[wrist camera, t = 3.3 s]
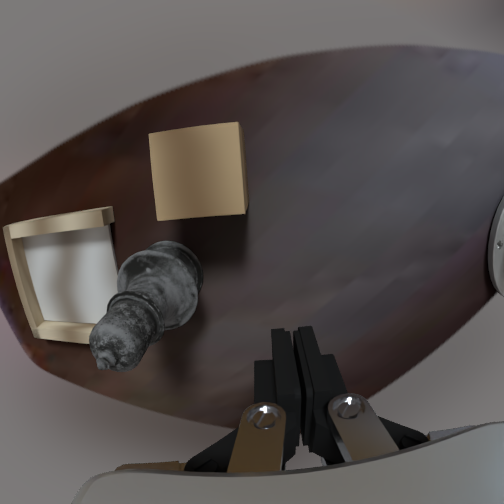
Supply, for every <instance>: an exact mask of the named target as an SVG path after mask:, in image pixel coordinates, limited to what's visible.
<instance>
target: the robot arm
mask: <svg viewBox="0 0 504 504" xmlns="http://www.w3.org/2000/svg"><path fill="white" fill-rule="evenodd" d="M488 268H489V273H490V278H491V281H492V283H493V286H494V288H495V289H496V290H497V292H498V293H499V294H501V295H502V296H503V297H504V196H503V198H502V200H501V202H500V204H499V206H498V208H497V211H496V214H495V217H494V220H493V224H492V228H491V232H490V238H489V245H488ZM271 337H272V357H273V360H259V361H254V404H253V405H251V406H249V407H248V408H247V409H246V410H245V411H244V413H243V415H242V418H241V422H240V426H239V427H238V428H237V429H235V430H234V431H232V432H231V433H229V434H228V435H227V436H225V437H224V438H222V439H221V440H219V441H218V442H216V443H215V444H213V445H211V446H210V447H208V448H207V449H205V450H204V451H202V452H200V453H199V454H197V455H196V456H194V457H192V458H191V459H190V460H189V461H188V462H186V463H179V461H169V462H157V463H135V464H124V465H121V466H119V467H117V468H116V469H115V471H110V472H106V473H102V474H98V475H96V476H94V477H92V478H90V479H89V480H88V481H86V482H85V483H84V484H83V485H82V487H81V488H80V489H79V491H78V492H77V494H76V496H75V497H74V499H73V501H72V503H71V504H504V421H503V422H492V423H486V424H481V425H477V426H466V427H460V428H453V429H447V430H440V431H432V432H429V433H428V435H424V434H423V433H421V432H419V431H416V430H413V429H411V428H408V427H405V426H402V425H400V424H397V423H394V422H392V421H389V420H386V419H384V418H381V417H379V416H377V415H376V413H375V412H374V410H373V409H372V407H371V406H370V404H369V403H368V401H367V400H366V399H365V398H364V397H362V396H360V395H357V394H351V393H347V390H346V387H345V384H344V382H343V379H342V376H341V373H340V371H339V368H338V365H337V363H336V360H335V357H334V355H333V354H328V355H321V353H320V350H319V347H318V344H317V341H316V338H315V335H314V332H313V328H312V326H305V327H298V331H293V346H292V341H291V336H290V331H286V332H285V330H284V328H281V329H271ZM300 429H301V435H302V441H303V446H305V445H308V447H309V452H313V453H315V454H317V455H319V456H321V463H322V465H323V466H321V467H313V468H306V469H296V470H286V462H287V461H288V460H289V459H291V458H292V457H293V456H294V455H295V450H296V446H299V436H300Z"/></svg>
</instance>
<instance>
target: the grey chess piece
mask: <svg viewBox="0 0 504 504" xmlns="http://www.w3.org/2000/svg"><path fill="white" fill-rule="evenodd" d="M202 282H203V271H202V267H201V264H200V262H199V260H198V258H197V256H196V255H195V254H194V253H193V252H192V251H191V250H190V249H189V248H187V247H186V246H184V245H183V244H180V243H177V242H174V241H161V242H157V243H155V244H153V245H151V246H149V247H148V248H147V249H146V250H145V251H141V252H137V253H136V254H134V255H132V256H130V257H129V258H128V259H127V260H126V261H125V262H124V263H123V264H122V266H121V268H120V270H119V272H118V278H117V291H118V293H117V294H115V295H114V296H113V297H112V298H111V299H110V300H109V303H108V305H107V313H106V314H105V315H104V316H103V317H102V318H101V320H100V321H99V322H98V323H97V324H96V325H95V326H94V327H93V329H92V331H91V333H90V336H89V344H90V349H91V352H92V354H93V356H94V357H95V358H96V363H97V366H98V369H99V370H107V369H110V370H113V371H117V372H126V371H130V370H132V369H133V368H135V367H136V366H137V365H138V364H139V362H140V361H141V359H142V357H143V355H144V354H145V352H146V350H147V348H148V347H149V346H151V345H153V344H155V343H157V342H158V341H159V340H160V339H161V337H162V336H163V334H164V330H171V329H175V328H177V327H180V326H182V325H183V324H185V323H186V322H187V321H189V320H190V318H191V317H192V315H193V314H194V312H195V310H196V306H197V303H198V292H199V291H200V289H201V286H202Z"/></svg>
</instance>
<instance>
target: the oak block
mask: <svg viewBox="0 0 504 504" xmlns="http://www.w3.org/2000/svg"><path fill="white" fill-rule="evenodd" d="M149 143H150V156H151V167H152V177H153V187H154V196H155V204H156V212H157V220H158V221H162V220H172V219H184V218H195V217H208V216H221V215H234V214H245V212H246V210H247V207H248V204H249V195H248V181H247V168H246V155H245V142H244V131H243V129H242V128H241V126H240V124H239V123H238V122H232V123H222V124H213V125H204V126H197V127H189V128H182V129H175V130H169V131H163V132H157V133H151V134H149Z"/></svg>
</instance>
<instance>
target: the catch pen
mask: <svg viewBox="0 0 504 504" xmlns="http://www.w3.org/2000/svg"><path fill="white" fill-rule="evenodd" d="M112 222H115V220H114V214H113V207H112V206H111V207H104V208H97V209H90V210H84V211H77V212H71V213H65V214H59V215H53V216H48V217H42V218H37V219H31V220H26V221H21V222H16V223H13V224H10V225H7V226H4V227H3V231H4V236H5V241H6V245H7V250H8V254H9V259H10V263H11V267H12V270H13V274H14V278H15V281H16V285H17V288H18V292H19V295H20V298H21V301H22V304H23V307H24V310H25V313H26V316H27V319H28V322H29V324H30V327H31V330H32V332H33V335H34V337H35V338H42V339H49V340H57V341H66V342H75V343H85V344H89V336H90V333H91V331H92V329H93V327H94V326H95V325H96V324H97V323H98V322H99V321H100V320H101V318H102V317H103V316H104V315H105V314H106V313H107V305H108V303H109V300H110V299H111V298H112V297H113V296H114V295H115V294H117V293H118V291H117V278H118V267H117V262H116V257H115V252H114V246H113V241H112V235H111V229H110V223H112Z"/></svg>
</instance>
